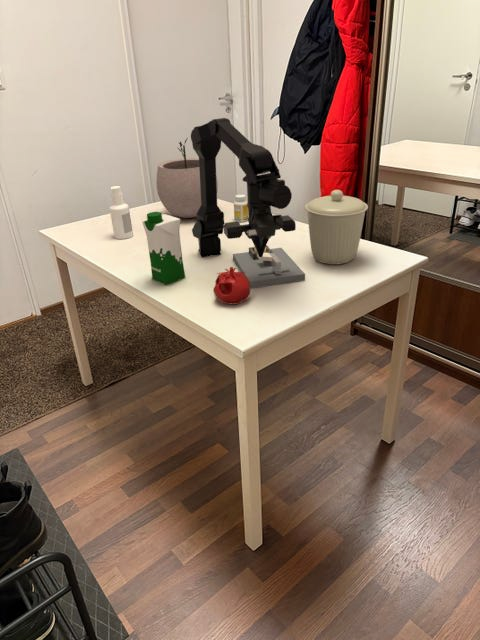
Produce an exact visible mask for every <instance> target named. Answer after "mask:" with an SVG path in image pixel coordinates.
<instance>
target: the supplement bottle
mask: <svg viewBox="0 0 480 640" xmlns="http://www.w3.org/2000/svg"><path fill="white" fill-rule="evenodd" d="M234 199H235V201H234V202H233V212H234V213H233V217H234V222H236V221H238V223H245V222H248V207H247V203H248V200H246V199H247V195H245V194H242V193H241V194H236V195H235V196H234Z"/></svg>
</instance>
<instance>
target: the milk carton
mask: <svg viewBox="0 0 480 640" xmlns="http://www.w3.org/2000/svg"><path fill="white" fill-rule="evenodd" d="M141 223H142V226H143V229H144V233H145V235H146V240H147V247H148V253H149V261H150V268H151V269H150V271H151V279H152V280H153V281H156V282H158V283H159V284H162V285H165V286H169V285H171V284H174V283H177V282H178V281H180V280H181V281H182V280H184V279H186V273H185V272H186V271H185V267H184V262H183V253H182V252H183V251H182V246H181V245H182V243H181V235H180V233H181V232H180V231H181V230H180V229H181V228H180V226H181V218H180V217H179V218H178V217H177V216H176V217H175V216H172V215H170V214H169V215H168V214H165V213H163V214H162V212H160V211H152V212H148V213H147V214H146V218H145V219H143V220H141Z"/></svg>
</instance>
